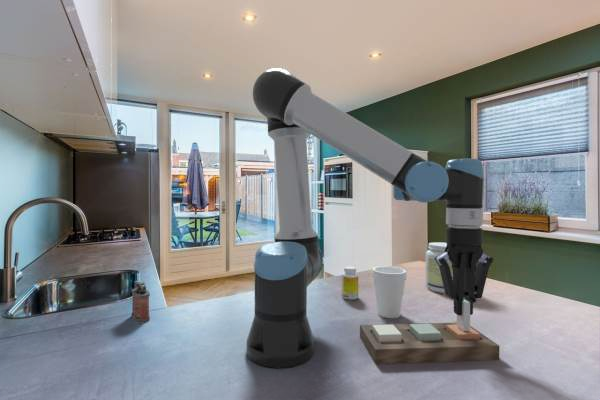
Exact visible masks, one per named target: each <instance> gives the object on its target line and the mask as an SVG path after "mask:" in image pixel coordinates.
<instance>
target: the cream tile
mask: <svg viewBox="0 0 600 400" xmlns="http://www.w3.org/2000/svg"><path fill="white" fill-rule="evenodd" d="M371 325H372V334H373V335H374V337H375V338H376V340H377V341H378V342H402V334H401V333H400V332H399V331H398V330H397V328H396V327H395V326H394V325H375V324H371Z"/></svg>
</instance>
